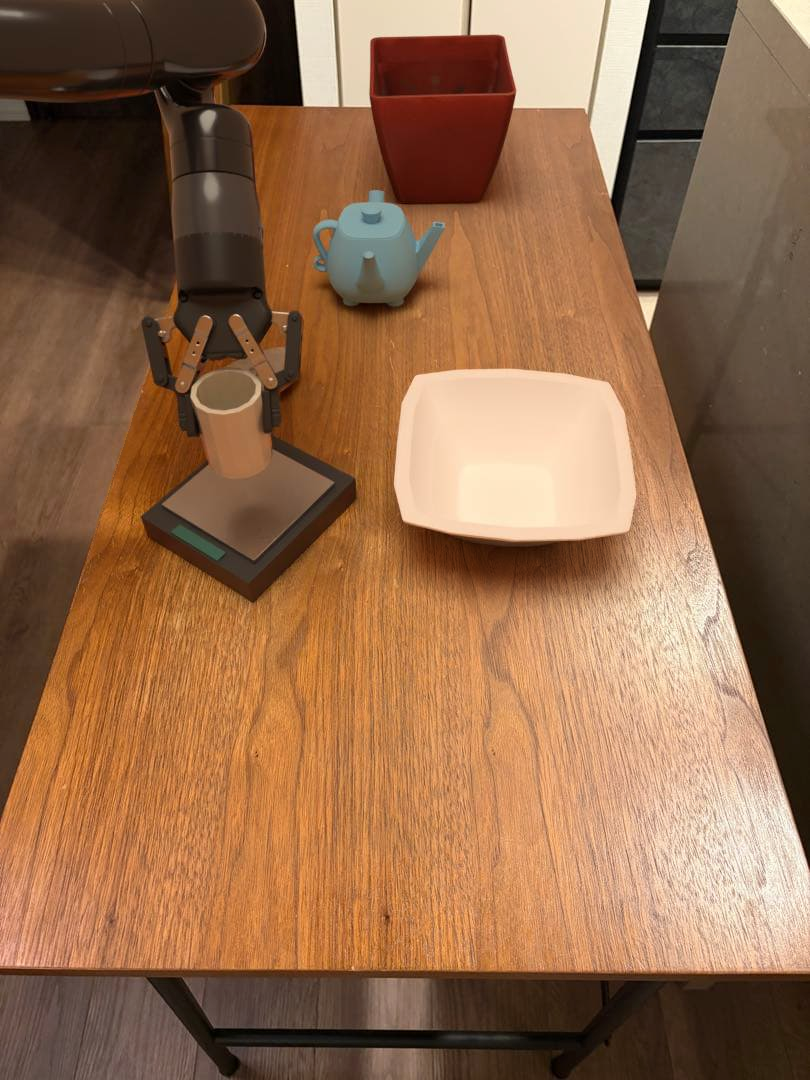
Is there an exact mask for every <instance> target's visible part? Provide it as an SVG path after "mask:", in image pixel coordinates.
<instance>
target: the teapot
mask: <svg viewBox="0 0 810 1080" xmlns="http://www.w3.org/2000/svg"><path fill="white" fill-rule="evenodd" d="M385 195H386V193H385V191H383V190H380V189H371V190H369V191H368V201H366V202H365V201H364V202H353V203H351V204H349V205H347V206H346V207H344V209H343V210H342V211H341V212H340V215H339V218H338V219H337V220H336V219H324V220H321V221H320V222H318V223H317V224H316V225H315V226H314V228H313V231H312V239H313V243H314V246H315V248H316V250H317V252H318V255H315V257H314V258H313V261H312V263H313V264H312V265H313V268H314V269H315V270H316V271H318V272H320V273H327V278H328V280H329V283H330V285H331V287H332V288H333V290H334V291H335V293H337V295H339V296H340V298H342V302H343V304H344V305H346V306H348V307H354V306H355V307H356V306H358V305H359V304H360V303H363V304H383V303H384V304H385V303H386V305H388V306H389V307H399V306H402V305H403V304H404V298H405V297H406V296H408V294H409V293H410V292H411V290H412V289H413V288H414V285H415V283H416V282H417V279H418V277H419V274H420V272H422V271H423V269H424V267H425V266H426V264H427V262H428V260H429V258H430V257H431V255H432V253H433V251H434V249H435V247H436V245H437V244H438V242H439V240H440V238H441V237H442V235H443V233H444V231H445V227H446V226H445V225H446V223H445V222H441V221H433V222H432V223H431V226H430V227H429V228H428V229H427V230H426V231H425V232H424V233H423V235H422V236H421V237H420V239H419V240H416V237H415V234H414V231H413V230H412V227H411V225H410V223H409V221H408V218H407V217H406V215H405V213H404V211H403V210H402V208H401V207H400V206H398V205H397V204H395V203H390V202H385V200H386V199H385V198H386V197H385ZM329 229H332V230H333V231H332V234H331V236H330V240H329V243H328V249H327V250H326V247H325V246H324V244H323V242H322V240H321V236H320V233H321V232H322V231H324V230H329ZM319 261H322V262H323V263H320V262H319Z"/></svg>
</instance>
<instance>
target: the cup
mask: <svg viewBox="0 0 810 1080" xmlns="http://www.w3.org/2000/svg"><path fill="white" fill-rule="evenodd" d="M262 391H263V390H262V384H261V382H260V381H259V379H258V378H257V376H256V375H255V374H253V373H251V372H249V371H247V370H245V369H241V368H232V367H227V368H225V367H221V368H216V369H213V370H211V371H209V372H207V373H205V374H203V375H200V378H199V379H198V380H197V381H196V382H195V384H194V385H193V386H192V389H191V396H190V397H191V401H192V405H193V409H194V413H195V417H196V420H197V424H198V428H199V432H200V439H201V442H202V447H203V450H204V454H205V458H206V461H207V460H208V463H209V465H210V467H211V469H212V470H213V471H214V472H215V473H217V474H218V475H220V476H222V477H225V478H230V479H243V478H248V477H251V476H254V475H256V474H258V473H260V472H261V471H263V470H264V469H265V468H266V467H267V466H268V465H269V463H270V461H271V459H272V455H273V451H272V441H271V435H270V434H265V432H264V420H263V405H262Z"/></svg>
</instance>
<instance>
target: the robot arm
mask: <svg viewBox="0 0 810 1080" xmlns="http://www.w3.org/2000/svg"><path fill="white" fill-rule="evenodd" d="M266 27H267V26H266V22H265V17H264V15H263V12H262V10H261V8H260V6H259V4H258V2H257V1H256V0H0V99H1V100H16V101H17V100H18V101H28V102H40V103H55V104H57V103H59V104H60V103H61V104H75V103H77V104H78V103H91V102H92V103H93V102H101V101H110V100H118V99H124V98H125V99H126V98H131V97H136V96H137V97H139V96H142V95H146V94H149V93H152V92H154V95H155V98H156V102H157V104H158V108H159V111H160V114H161V118H162V120H163V122H164V125H165V128H166V131H167V133H168V137H169V155H170V157H169V159H170V160H169V161H170V173H171V183H172V185H171V187H172V189H171V190H172V192H171V193H172V195H171V196H172V197H171V225H172V226H171V227H172V240H173V250H174V253H173V254H174V265H175V278H176V291H177V292H176V293H177V305H176V308H175V309H174V312H173V315H169V316H163V317H156V318H153V316H145V317H143V318H142V319H141V328H142V333H143V339H144V342H145V347H146V352H147V357H148V361H149V366H150V370H151V371H150V372H151V375H152V380H153V383H154V384H155V386H158V387H160V388H163V389H167V390H170V391H172V392H173V393H175V396H176V400H177V401H176V403H177V415H178V427H179V428H180V430H181V432H186V435H187V438H190V439H194V438H201V435H200V432H199V428H198V424H197V420H196V417H195V413H194V409H193V405H192V401H191V397H190V396H191V389H192V386H193V385H194V384H195V382H196V381H197V380H198V379H199V378H200V377H201V376H202V373H203V372H204V371H205V369H206V366H207V364H208V361H211V362H217V361H222V360H225V359H233V360H236V361H237V360H240V359H246V358H249V360H250V361H251V363H252V365H253V366H254V368H255V369H256V371H257V373H258V375H259V377H260V378H261V380H262V382H263V384H264V391H262V405H263V420H264V432H265V434H272V435H275V434H276V429H275V428H281V424H282V422H283V421H282V407H281V406H282V404H281V393H280V391H281V389H282V388H283V387H284V386H287V385H289V384H291V383H292V384H296V383H299V380H300V379H301V367H302V355H303V353H302V351H303V337H304V327H305V326H304V324H305V322H304V318H303V315H302V314H301V312H299V311H298V310H290V312H284V311H274V310H272V308H271V307H270V305H269V303H268V299H267V289H266V288H267V287H266V271H265V270H266V269H265V256H264V242H263V241H264V240H263V239H264V227H263V225H262V214H261V207H260V203H259V202H260V201H259V197H258V190H257V182H256V181H257V180H256V166H255V154H254V153H255V150H254V149H255V148H254V138H253V137H254V136H253V131H252V127H251V123H250V121H249V119H248V118H247V117H246V115H245V114H244V113H243V111H240V110H238V109H237V108H235V107H233V106H230V105H226V104H223V103H217V99H216V91H215V90H216V87H217V86H219V85H221V84H223V83H225V82H227V81H229V80H231V79H232V80H233V79H234V78H236V77H238V76H241V75H243V74H245V73H247V72H248V71H250V70H251V69H253V67H255V65H256V64H257V63H258V61H259V60H260V59H261V57H262V54H263V53H264V49H265V47H266V40H267V28H266ZM272 325H276V326H277V328H278V329H277V330H278V333H279V335H280V336H281V337H282V338H283V339H285V347H286V349H285V363H284V370H281V371H279V372H277V373H275V372H274V370H273V369H272V367H271V365H270V363H269V361H268V359H267V357H266V356H265V354H264V352H263V351H264V350H263V348H262V346H261V345H260V344H261V343H262V341H263V339H264V338H265V336H266V335H267V333H268V331H269V330H270V329H271V327H272ZM176 329H177V330H178V331H179V332H180V333H181V335H182V336H183V337H184V339H185V340H186V341H187V343H189V345H188V348H187V350H186V352H185V355H184V357H183V360H182V366H181V369H180V371H179V374H178V376H174V374H173V370H172V365H171V361H170V356H169V351H168V347H167V344H169V343H170V342H171V341H172V339H173V332H174V330H176ZM292 384H291V385H292Z"/></svg>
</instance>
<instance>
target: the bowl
mask: <svg viewBox="0 0 810 1080" xmlns="http://www.w3.org/2000/svg"><path fill="white" fill-rule="evenodd" d="M626 419H627V418H626V414H625V410H624V408H623V406H622V404H621V402H620V400H619V398H618V397H617V395H616V393H615V391H614V389H613V387H612V385H611V384H610V383H609V382H608V381H604V380H600V379H594V378H589V377H583V376H579V375H575V374H569V373H564V372H563V373H562V372H561V373H560V372H551V371H541V370H532V369H531V370H530V369H520V368H475V369H473V368H471V369H451V370H443V371H437V372H428V373H420V374H416V375H415V376H414V377H413V378H412V381H411V383H410V385H409V387H408V389H407V392H406V393H405V395H404V397H403V398H402V401H401V406H400V415H399V423H398V431H397V441H396V451H395V452H396V453H395V466H394V476H393V487H394V492H395V495H396V500H397V503H398V507H399V512H400V517H401V520H402V522H403V523H405V524H407V525H411V526H416V527H420V528H424V529H429V530H432V531H436V532H440V533H443V534H448V535H450V536H452V537H454V538H456V539H459V540H462V541H466V542H470V543H473V544H474V543H475V544H478V545H486V546H496V547H504V548H515V547H517V548H518V547H520V548H521V547H523V548H524V547H525V548H526V547H538V546H539V547H540V546H545V545H552V544H556V543H560V542H565V541H568V542H569V541H584V540H591V539H598V538H604V537H610V536H618V535H624V534H627V533H629V531H630V529H631V523H632V520H633V515H634V509H635V505H636V500H637V495H638V494H637V489H636V487H637V486H636V479H635V473H634V464H633V463H634V462H633V455H632V449H631V443H630V437H629V431H628V426H627V420H626Z"/></svg>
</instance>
